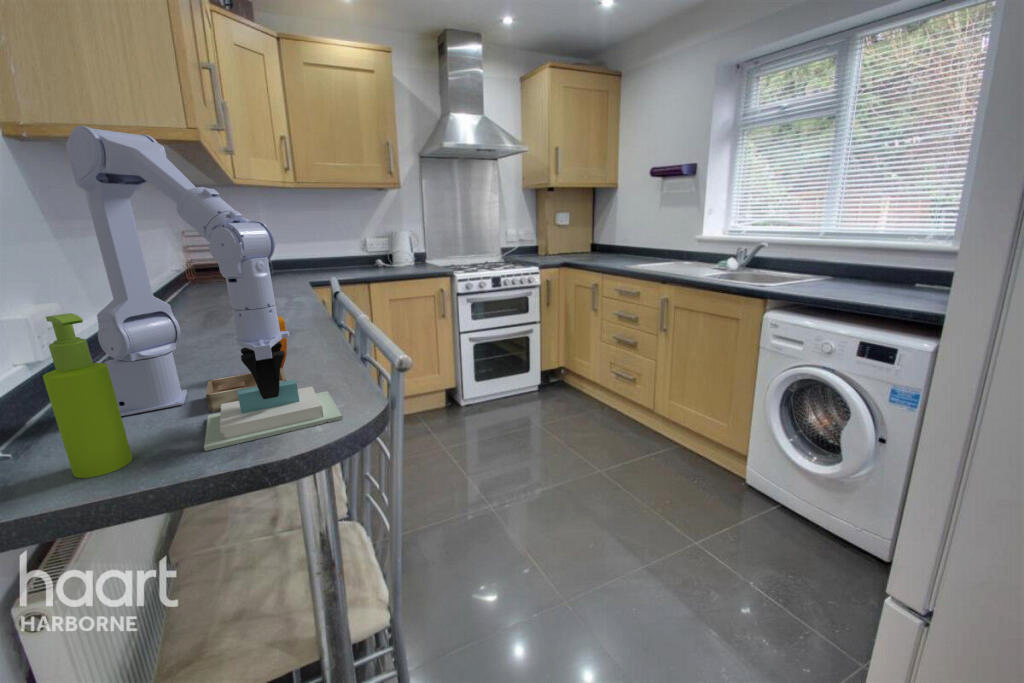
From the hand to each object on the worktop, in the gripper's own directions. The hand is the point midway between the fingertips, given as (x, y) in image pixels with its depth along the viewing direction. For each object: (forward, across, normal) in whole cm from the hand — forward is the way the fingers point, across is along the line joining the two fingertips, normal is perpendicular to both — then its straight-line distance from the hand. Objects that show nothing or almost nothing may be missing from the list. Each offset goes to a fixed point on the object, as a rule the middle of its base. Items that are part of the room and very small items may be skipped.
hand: (270, 393), depth 72 cm
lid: (+3, 0, 0) cm, 3 cm away
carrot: (+4, +28, -3) cm, 29 cm away
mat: (+4, 0, 0) cm, 4 cm away
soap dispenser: (+4, -4, +20) cm, 21 cm away
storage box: (+4, +14, +3) cm, 15 cm away
